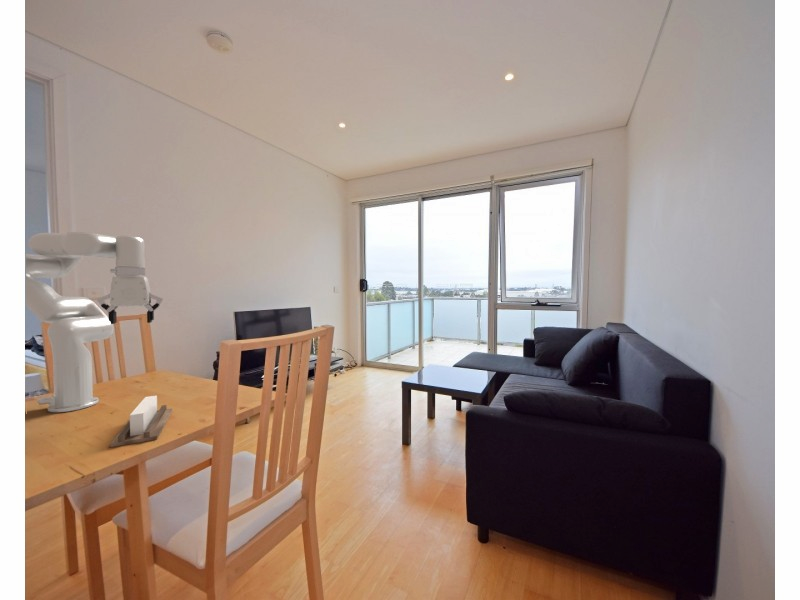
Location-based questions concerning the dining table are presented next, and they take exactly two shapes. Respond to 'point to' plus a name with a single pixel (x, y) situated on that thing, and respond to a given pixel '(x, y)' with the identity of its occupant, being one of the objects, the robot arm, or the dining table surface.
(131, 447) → the dining table surface
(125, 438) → the walnut rack
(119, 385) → the dining table surface
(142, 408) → the white strip
